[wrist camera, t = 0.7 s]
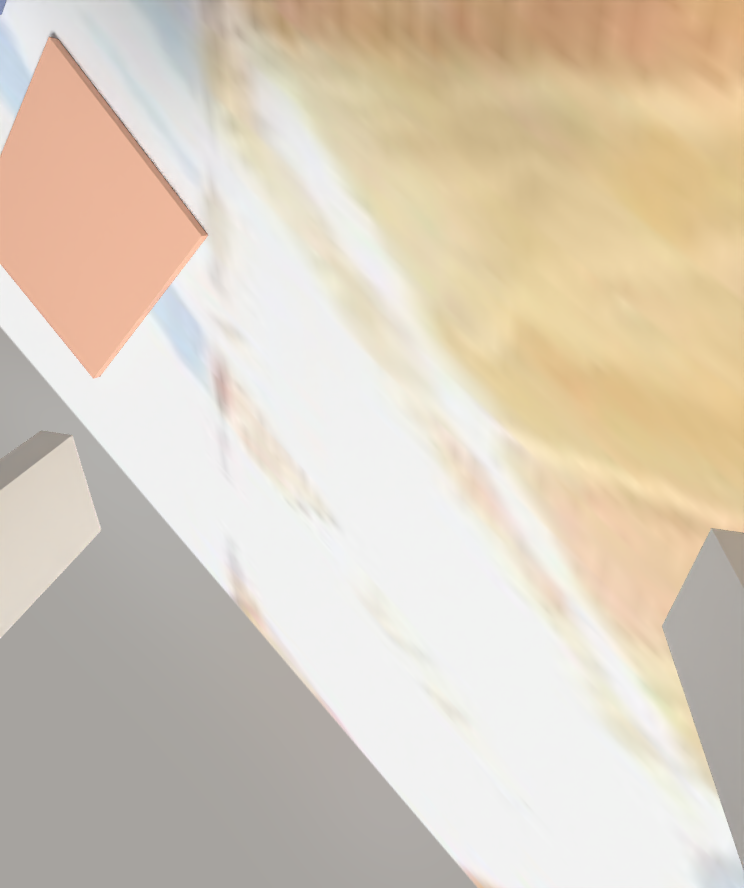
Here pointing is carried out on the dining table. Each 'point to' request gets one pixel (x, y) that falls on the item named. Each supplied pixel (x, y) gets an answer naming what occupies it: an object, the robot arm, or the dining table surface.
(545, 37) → the dining table surface
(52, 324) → the mat
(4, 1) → the rectangular arch
